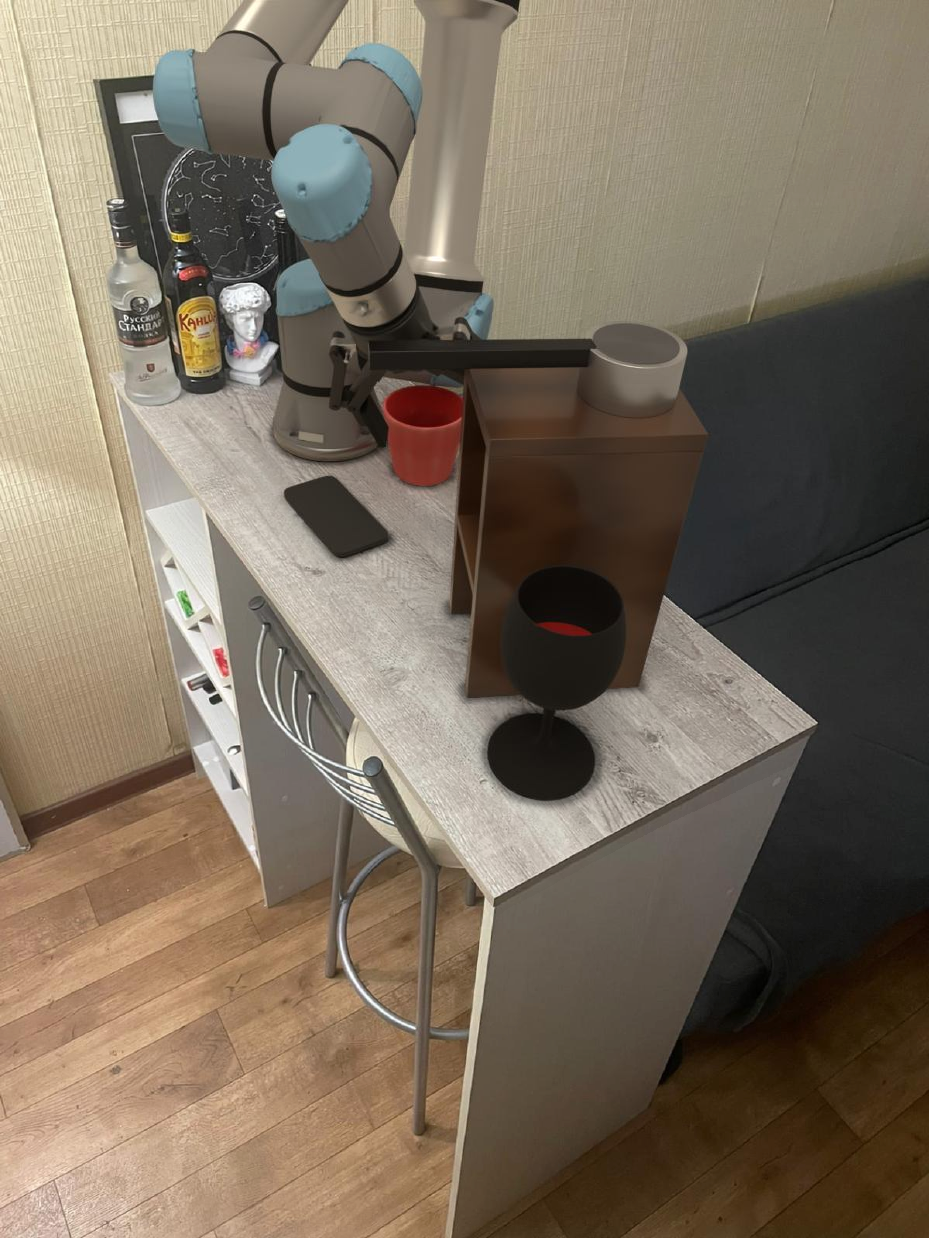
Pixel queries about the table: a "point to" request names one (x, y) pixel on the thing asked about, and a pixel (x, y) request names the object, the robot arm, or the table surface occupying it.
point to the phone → (336, 516)
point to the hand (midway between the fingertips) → (442, 433)
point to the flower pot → (423, 432)
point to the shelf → (564, 504)
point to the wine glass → (556, 677)
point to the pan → (566, 362)
